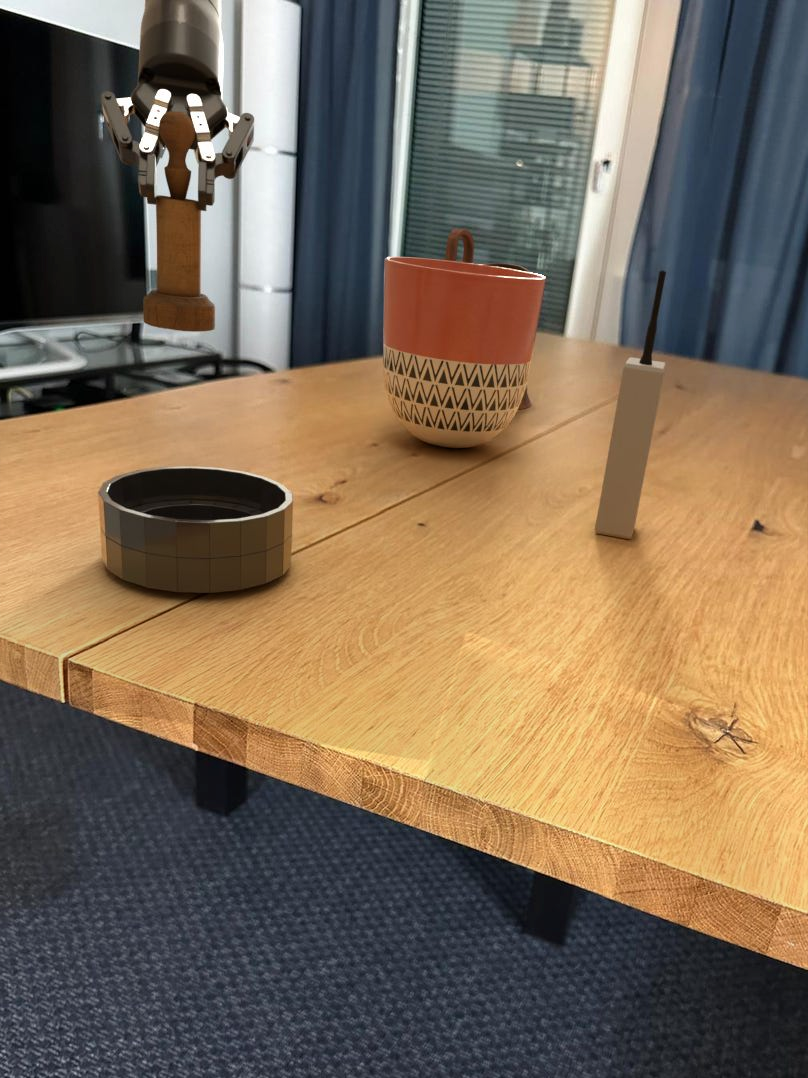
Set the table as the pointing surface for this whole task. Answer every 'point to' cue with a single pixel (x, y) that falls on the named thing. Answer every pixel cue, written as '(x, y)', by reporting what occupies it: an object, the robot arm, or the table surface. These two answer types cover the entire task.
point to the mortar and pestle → (178, 241)
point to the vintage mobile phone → (631, 435)
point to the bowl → (195, 528)
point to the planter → (457, 346)
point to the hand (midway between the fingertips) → (177, 199)
